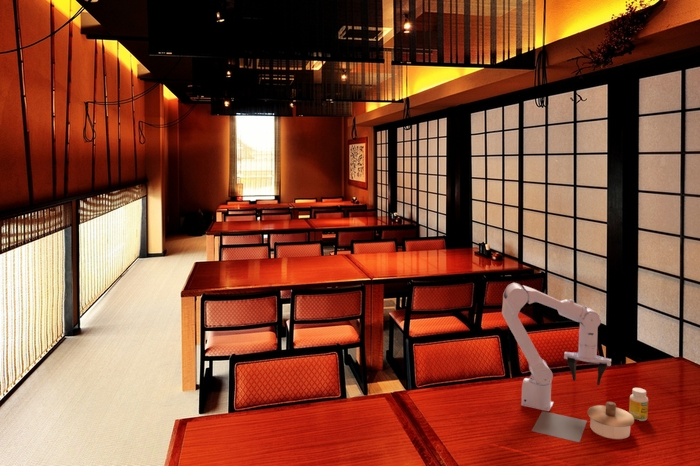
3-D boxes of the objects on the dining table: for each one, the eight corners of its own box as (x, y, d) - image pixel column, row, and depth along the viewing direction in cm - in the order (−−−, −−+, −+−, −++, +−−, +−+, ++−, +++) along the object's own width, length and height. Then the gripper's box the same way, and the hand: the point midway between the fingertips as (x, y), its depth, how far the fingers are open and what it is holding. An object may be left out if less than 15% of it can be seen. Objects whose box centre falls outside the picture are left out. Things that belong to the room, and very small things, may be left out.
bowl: (588, 435, 162) (588, 419, 161) (593, 420, 171) (593, 406, 170) (628, 444, 156) (629, 428, 155) (630, 429, 165) (631, 414, 165)
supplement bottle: (634, 412, 176) (635, 385, 175) (650, 418, 172) (652, 390, 170) (625, 416, 173) (627, 389, 172) (641, 423, 169) (643, 394, 168)
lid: (584, 420, 161) (585, 406, 160) (591, 404, 172) (591, 391, 171) (632, 431, 154) (632, 416, 153) (635, 413, 165) (636, 400, 164)
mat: (531, 432, 163) (531, 430, 163) (542, 412, 177) (542, 410, 177) (579, 443, 156) (579, 442, 156) (587, 422, 170) (587, 420, 170)
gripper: (563, 343, 178) (561, 381, 179) (610, 350, 170) (608, 390, 172) (566, 337, 184) (565, 374, 185) (612, 344, 176) (610, 382, 178)
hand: (586, 381), depth 179 cm, fingers open, 7 cm apart
